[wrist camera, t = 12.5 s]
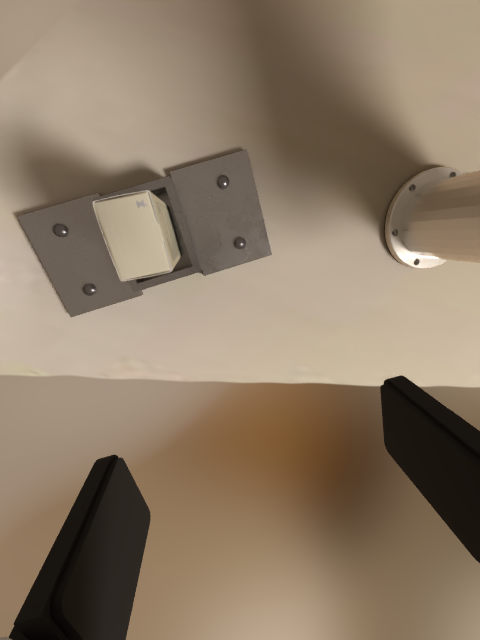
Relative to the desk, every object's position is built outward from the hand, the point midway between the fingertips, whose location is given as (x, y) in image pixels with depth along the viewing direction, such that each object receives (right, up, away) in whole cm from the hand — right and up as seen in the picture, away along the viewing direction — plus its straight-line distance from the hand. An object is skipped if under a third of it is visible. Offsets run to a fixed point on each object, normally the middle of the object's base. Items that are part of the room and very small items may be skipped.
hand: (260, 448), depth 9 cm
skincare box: (-11, +15, +22) cm, 29 cm away
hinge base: (-11, +14, +22) cm, 29 cm away
